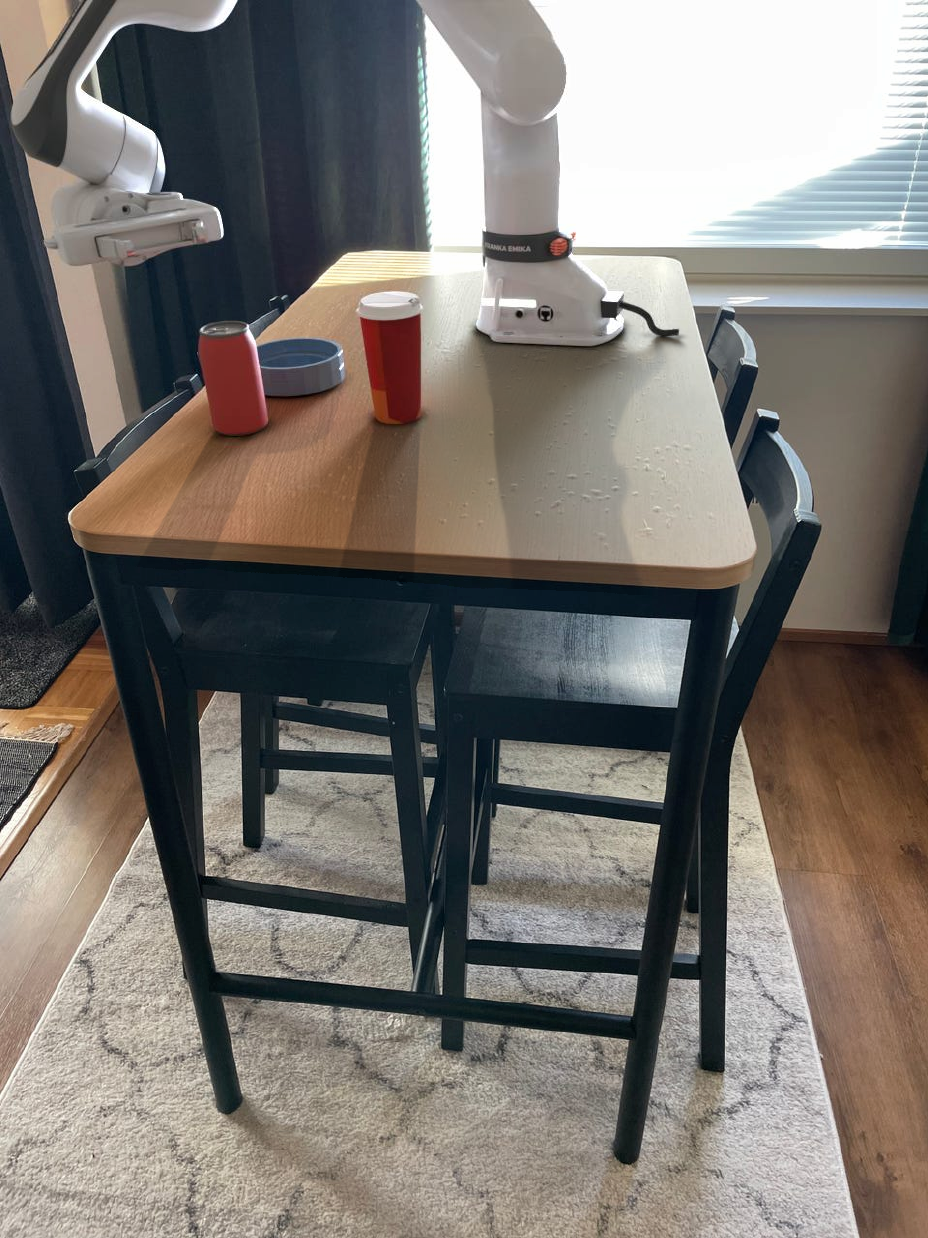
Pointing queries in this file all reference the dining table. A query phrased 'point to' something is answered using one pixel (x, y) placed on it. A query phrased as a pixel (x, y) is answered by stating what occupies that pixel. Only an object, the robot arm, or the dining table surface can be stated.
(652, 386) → the dining table surface
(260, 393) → the beer can
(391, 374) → the paper cup
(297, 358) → the bowl
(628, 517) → the dining table surface
